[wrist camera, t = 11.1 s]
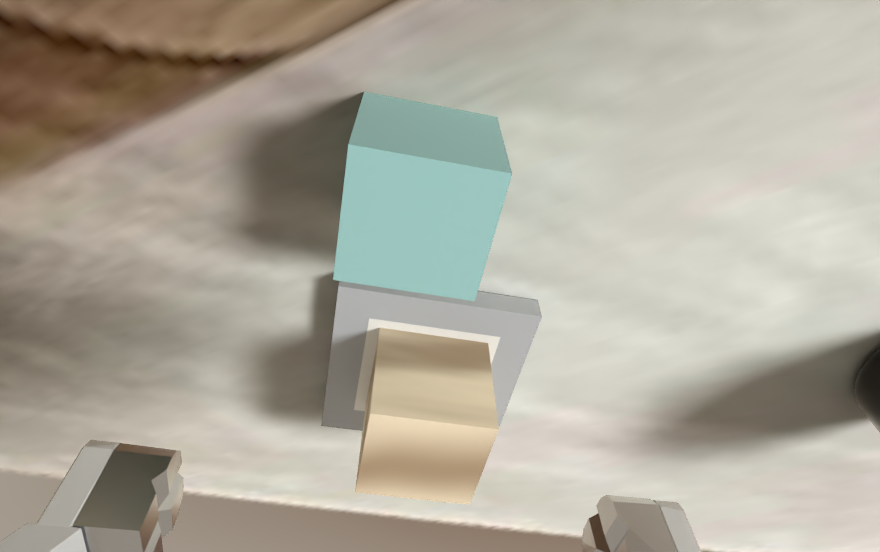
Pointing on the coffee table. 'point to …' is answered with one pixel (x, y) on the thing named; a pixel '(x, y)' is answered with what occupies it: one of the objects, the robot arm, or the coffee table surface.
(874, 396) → the supplement bottle
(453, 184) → the teal cube
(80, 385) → the coffee table surface
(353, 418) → the plate
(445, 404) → the maple cube
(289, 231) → the coffee table surface
